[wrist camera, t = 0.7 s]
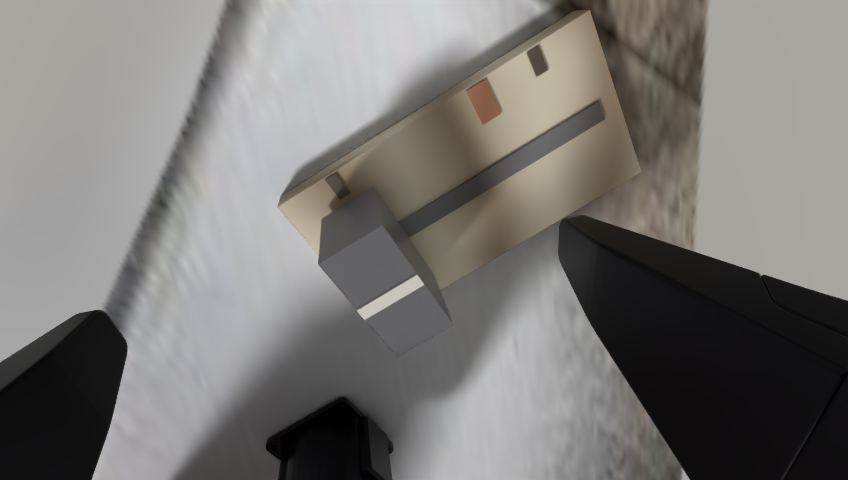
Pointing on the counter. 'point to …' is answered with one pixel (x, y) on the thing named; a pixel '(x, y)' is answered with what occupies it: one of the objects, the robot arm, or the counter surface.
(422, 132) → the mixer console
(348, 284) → the fader knob
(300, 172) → the counter surface
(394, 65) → the counter surface
